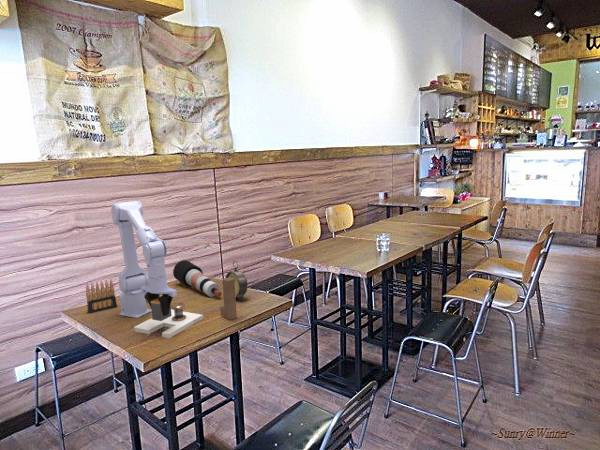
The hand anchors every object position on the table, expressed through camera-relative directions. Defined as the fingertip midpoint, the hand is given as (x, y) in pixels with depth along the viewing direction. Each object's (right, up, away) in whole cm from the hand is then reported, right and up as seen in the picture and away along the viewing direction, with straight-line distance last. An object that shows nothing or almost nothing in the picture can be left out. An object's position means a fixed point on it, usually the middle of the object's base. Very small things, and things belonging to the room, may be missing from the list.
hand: (161, 313), depth 149 cm
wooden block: (+21, -4, +12) cm, 25 cm away
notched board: (+1, -5, +7) cm, 9 cm away
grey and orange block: (0, -1, +1) cm, 2 cm away
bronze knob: (+4, -3, +8) cm, 10 cm away
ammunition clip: (-31, -4, +25) cm, 40 cm away
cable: (+4, +1, +45) cm, 45 cm away
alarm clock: (+22, 0, +32) cm, 39 cm away
